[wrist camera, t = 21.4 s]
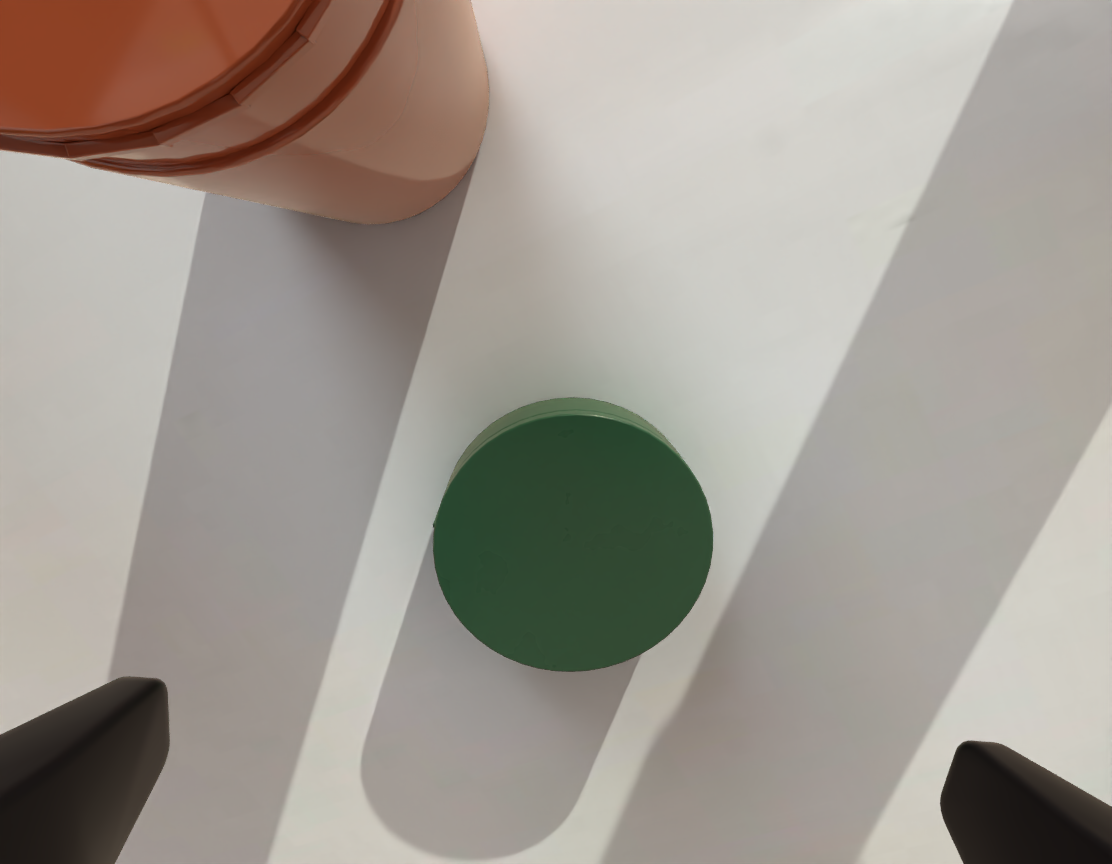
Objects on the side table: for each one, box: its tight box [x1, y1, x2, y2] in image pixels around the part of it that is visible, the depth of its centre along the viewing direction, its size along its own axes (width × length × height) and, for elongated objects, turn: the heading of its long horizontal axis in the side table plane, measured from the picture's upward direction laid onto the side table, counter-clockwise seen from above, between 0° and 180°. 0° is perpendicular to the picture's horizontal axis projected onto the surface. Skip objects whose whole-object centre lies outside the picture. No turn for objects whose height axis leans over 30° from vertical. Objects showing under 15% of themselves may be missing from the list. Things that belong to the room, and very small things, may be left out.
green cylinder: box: [433, 398, 713, 672], centre depth 17 cm, size 7×7×2 cm
